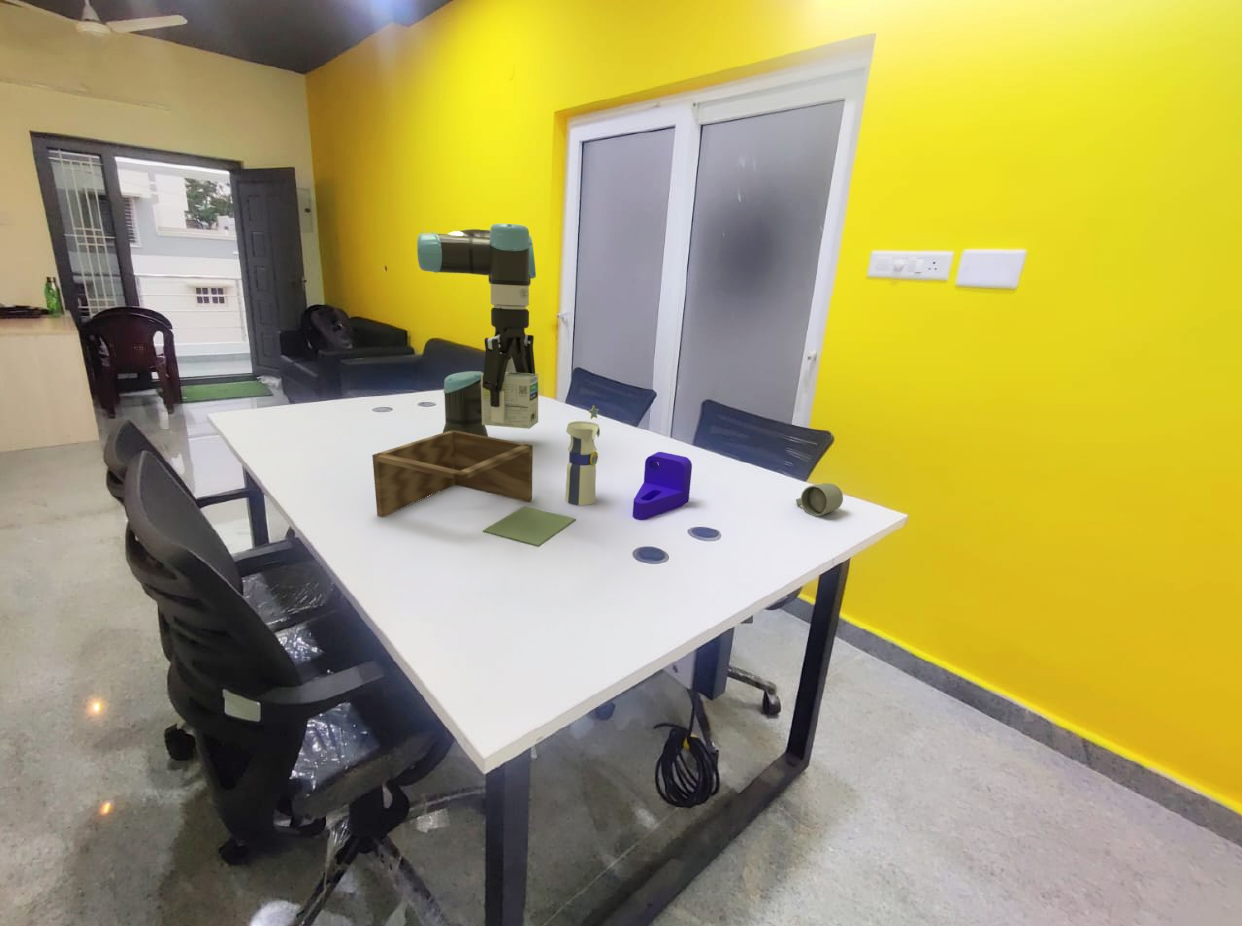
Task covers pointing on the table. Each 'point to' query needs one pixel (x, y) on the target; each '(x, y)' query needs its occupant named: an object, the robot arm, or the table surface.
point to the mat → (530, 526)
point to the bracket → (663, 485)
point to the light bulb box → (514, 401)
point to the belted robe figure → (582, 462)
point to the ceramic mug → (820, 499)
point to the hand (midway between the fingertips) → (510, 417)
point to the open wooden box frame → (451, 469)
